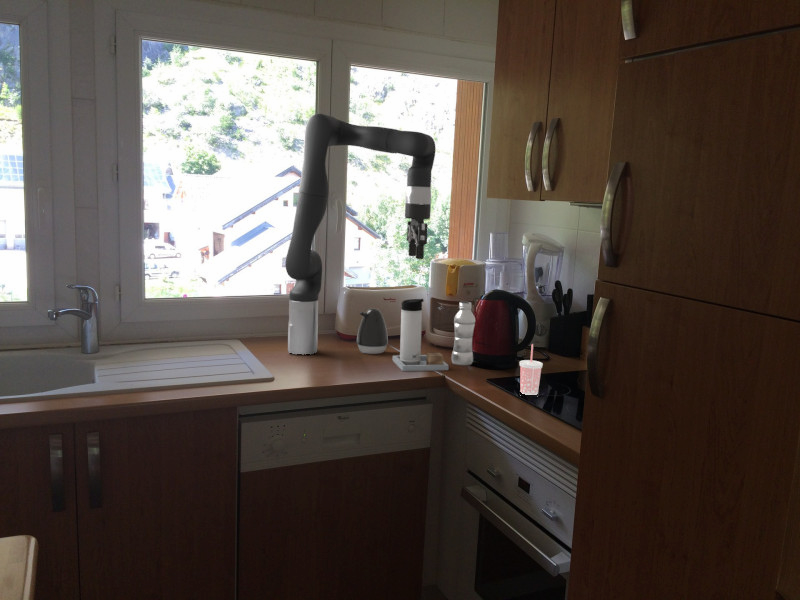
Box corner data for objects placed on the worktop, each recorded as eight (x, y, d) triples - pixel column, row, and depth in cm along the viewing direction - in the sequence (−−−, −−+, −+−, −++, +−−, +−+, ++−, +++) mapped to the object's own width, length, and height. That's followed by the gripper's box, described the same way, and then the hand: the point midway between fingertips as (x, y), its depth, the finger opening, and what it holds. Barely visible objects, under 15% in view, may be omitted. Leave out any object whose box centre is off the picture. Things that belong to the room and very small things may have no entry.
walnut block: (429, 369, 199) (430, 356, 198) (426, 365, 203) (426, 352, 202) (442, 368, 200) (443, 355, 199) (438, 365, 204) (439, 352, 203)
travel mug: (419, 366, 201) (421, 300, 198) (397, 364, 202) (399, 299, 199) (422, 361, 207) (425, 297, 204) (401, 360, 209) (403, 296, 205)
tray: (402, 374, 196) (402, 366, 195) (392, 363, 208) (392, 355, 208) (448, 373, 199) (448, 365, 199) (435, 362, 211) (436, 354, 211)
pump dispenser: (349, 352, 220) (350, 307, 218) (373, 349, 227) (375, 304, 225) (369, 359, 212) (370, 311, 210) (393, 355, 219) (395, 309, 217)
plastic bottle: (452, 362, 212) (455, 300, 209) (473, 364, 211) (477, 301, 208) (449, 367, 206) (452, 303, 203) (471, 369, 205) (475, 304, 202)
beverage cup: (537, 392, 183) (541, 342, 180) (542, 399, 177) (546, 347, 174) (515, 391, 182) (518, 341, 180) (519, 398, 176) (523, 346, 174)
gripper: (400, 201, 204) (398, 255, 206) (411, 202, 190) (409, 259, 192) (424, 202, 205) (421, 255, 208) (437, 203, 192) (434, 260, 194)
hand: (415, 257), depth 200 cm, fingers open, 8 cm apart
